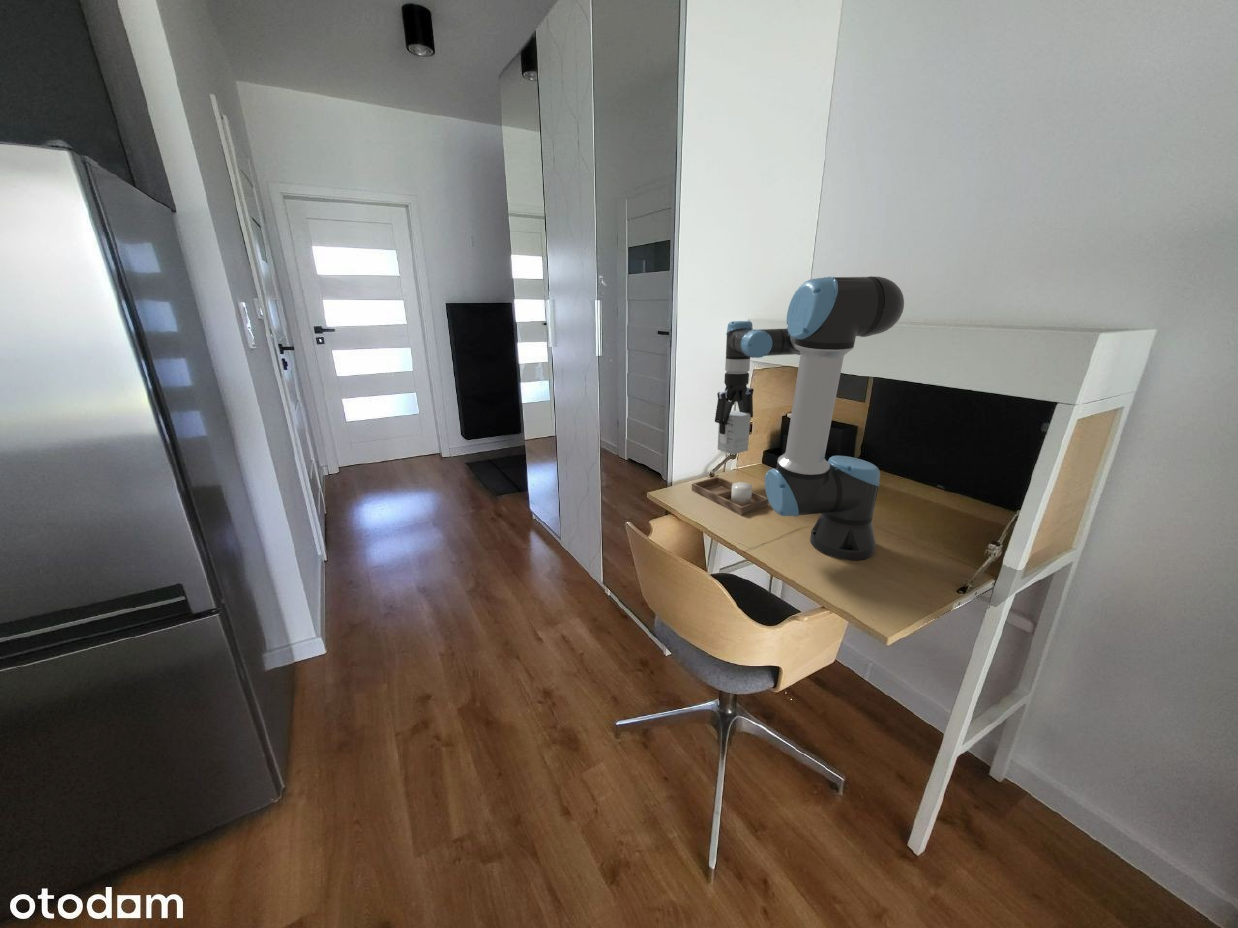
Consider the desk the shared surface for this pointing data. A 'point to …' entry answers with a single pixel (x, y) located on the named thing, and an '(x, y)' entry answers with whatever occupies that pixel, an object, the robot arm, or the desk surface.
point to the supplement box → (736, 433)
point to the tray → (727, 495)
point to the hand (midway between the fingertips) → (732, 440)
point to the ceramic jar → (741, 493)
